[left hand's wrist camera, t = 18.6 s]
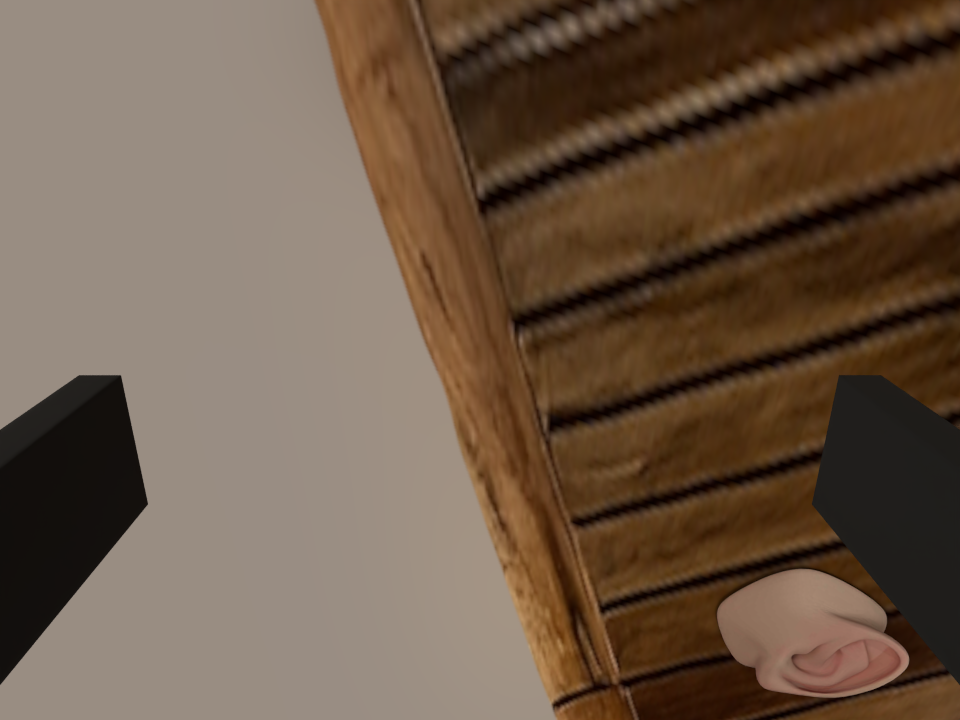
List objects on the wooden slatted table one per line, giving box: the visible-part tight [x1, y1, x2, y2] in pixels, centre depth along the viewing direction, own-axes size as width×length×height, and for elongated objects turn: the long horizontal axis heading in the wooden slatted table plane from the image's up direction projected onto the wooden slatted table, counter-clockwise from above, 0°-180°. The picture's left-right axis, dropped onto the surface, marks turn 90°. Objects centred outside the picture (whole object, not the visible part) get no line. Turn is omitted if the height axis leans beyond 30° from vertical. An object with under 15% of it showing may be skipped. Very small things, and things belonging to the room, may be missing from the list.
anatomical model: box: [717, 569, 909, 697], centre depth 54 cm, size 13×4×12 cm
